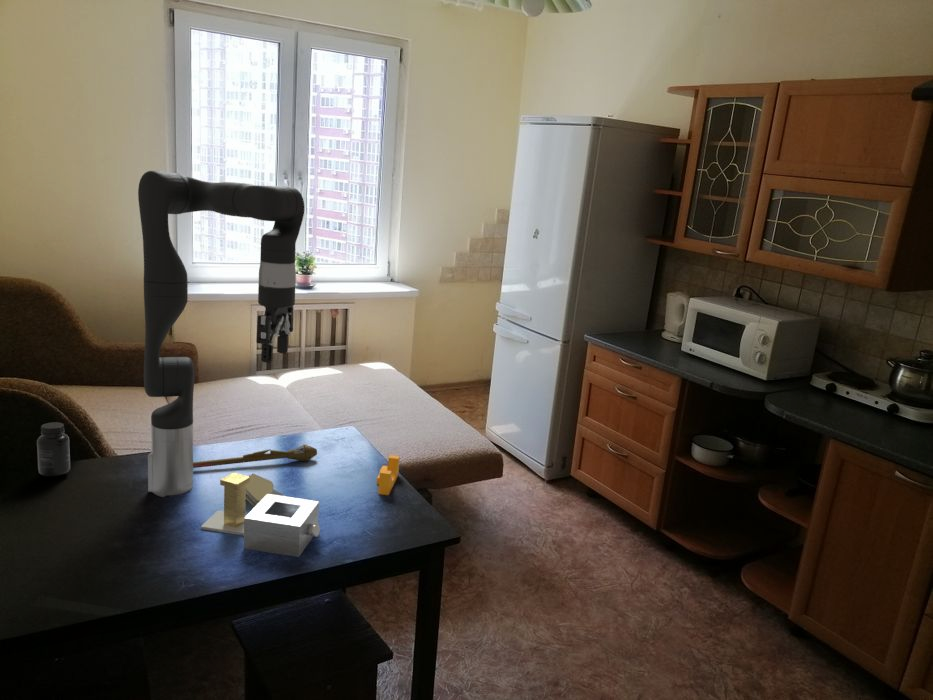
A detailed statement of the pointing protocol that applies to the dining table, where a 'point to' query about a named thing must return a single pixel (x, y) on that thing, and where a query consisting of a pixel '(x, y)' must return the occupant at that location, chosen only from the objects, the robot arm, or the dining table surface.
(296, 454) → the panzerfaust rocket launcher
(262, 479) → the stacked layers on plate
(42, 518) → the dining table surface
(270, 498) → the block
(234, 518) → the capped wooden post
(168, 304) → the robot arm
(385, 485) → the pipe clamp
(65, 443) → the supplement bottle
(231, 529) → the mat
